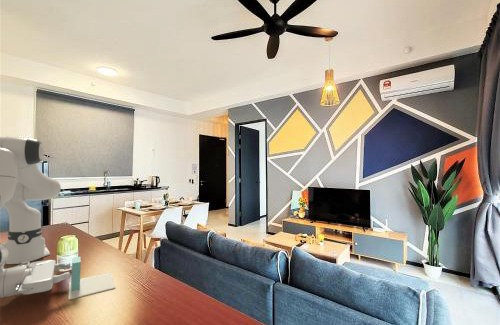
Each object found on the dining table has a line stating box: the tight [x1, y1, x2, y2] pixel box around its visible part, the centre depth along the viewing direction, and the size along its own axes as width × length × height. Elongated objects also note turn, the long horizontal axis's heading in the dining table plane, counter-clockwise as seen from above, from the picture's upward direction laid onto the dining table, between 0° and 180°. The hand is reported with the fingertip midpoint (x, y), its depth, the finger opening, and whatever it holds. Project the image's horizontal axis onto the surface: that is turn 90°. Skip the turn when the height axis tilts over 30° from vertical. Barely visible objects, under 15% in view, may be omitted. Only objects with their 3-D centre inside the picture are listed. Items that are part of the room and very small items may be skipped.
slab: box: [70, 256, 82, 291], centre depth 89 cm, size 6×3×10 cm, turn 36°
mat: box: [68, 271, 116, 301], centre depth 91 cm, size 15×14×1 cm
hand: (70, 270), depth 88 cm, fingers open, 8 cm apart
